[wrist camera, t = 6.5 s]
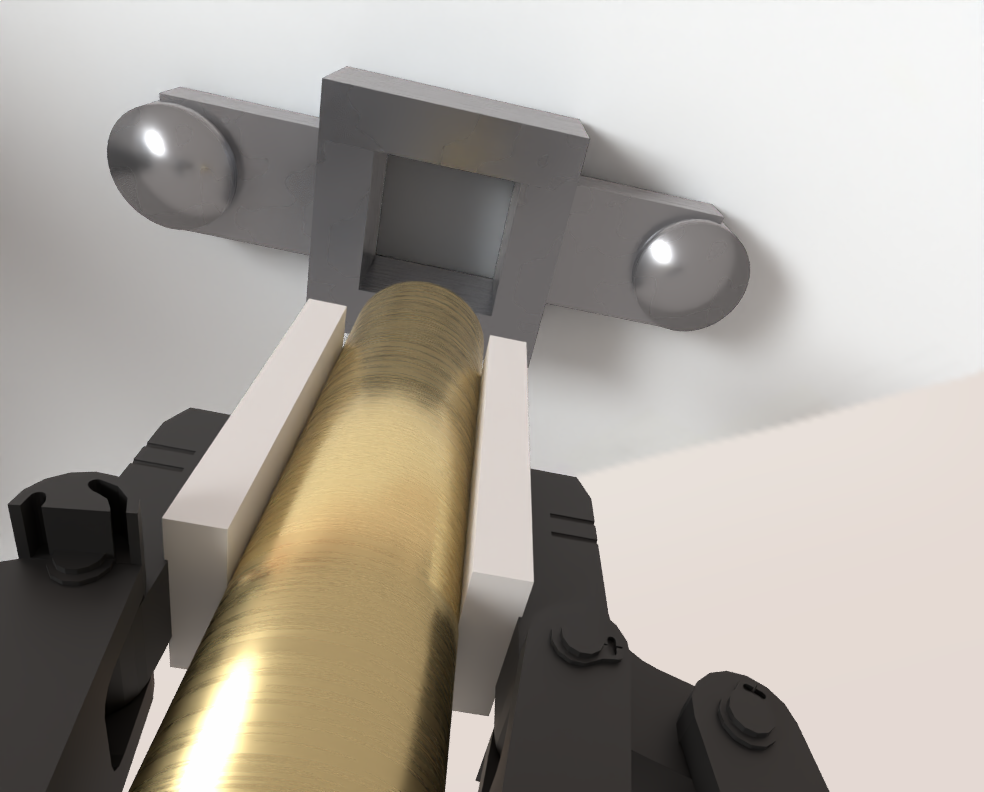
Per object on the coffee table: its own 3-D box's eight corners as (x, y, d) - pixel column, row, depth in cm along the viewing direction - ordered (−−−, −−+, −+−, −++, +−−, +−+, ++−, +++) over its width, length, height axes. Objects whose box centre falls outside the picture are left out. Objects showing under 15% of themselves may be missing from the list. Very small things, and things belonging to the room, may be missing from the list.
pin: (326, 398, 17) (-65, 1239, 5) (341, 241, 15) (-236, 1075, 3) (486, 428, 17) (431, 1283, 6) (523, 280, 15) (547, 1156, 4)
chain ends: (145, 250, 26) (97, 284, 23) (131, 16, 22) (71, 21, 19) (691, 359, 28) (713, 403, 25) (771, 163, 24) (809, 188, 21)
